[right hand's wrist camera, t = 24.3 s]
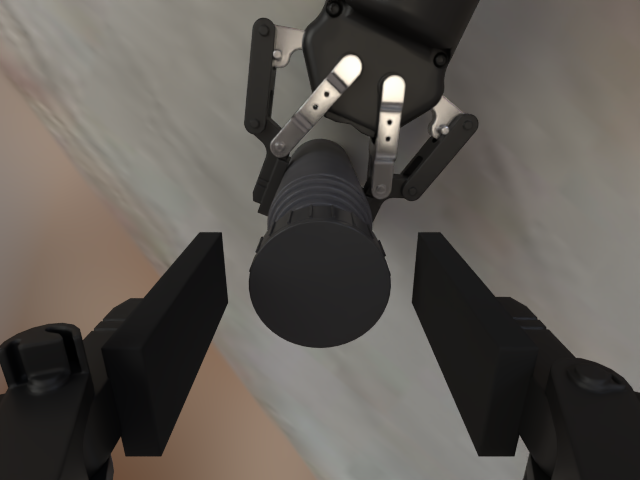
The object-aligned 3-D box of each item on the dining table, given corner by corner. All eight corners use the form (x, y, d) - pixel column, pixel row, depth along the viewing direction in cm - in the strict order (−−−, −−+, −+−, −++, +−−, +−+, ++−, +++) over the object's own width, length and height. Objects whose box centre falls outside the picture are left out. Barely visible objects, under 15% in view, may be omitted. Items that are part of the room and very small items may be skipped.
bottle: (326, 125, 30) (335, 175, 12) (363, 176, 31) (420, 289, 14) (276, 164, 31) (216, 263, 13) (314, 212, 32) (306, 361, 15)
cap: (237, 224, 14) (226, 242, 12) (366, 187, 13) (372, 201, 12) (279, 333, 15) (274, 362, 14) (396, 303, 15) (405, 330, 13)
